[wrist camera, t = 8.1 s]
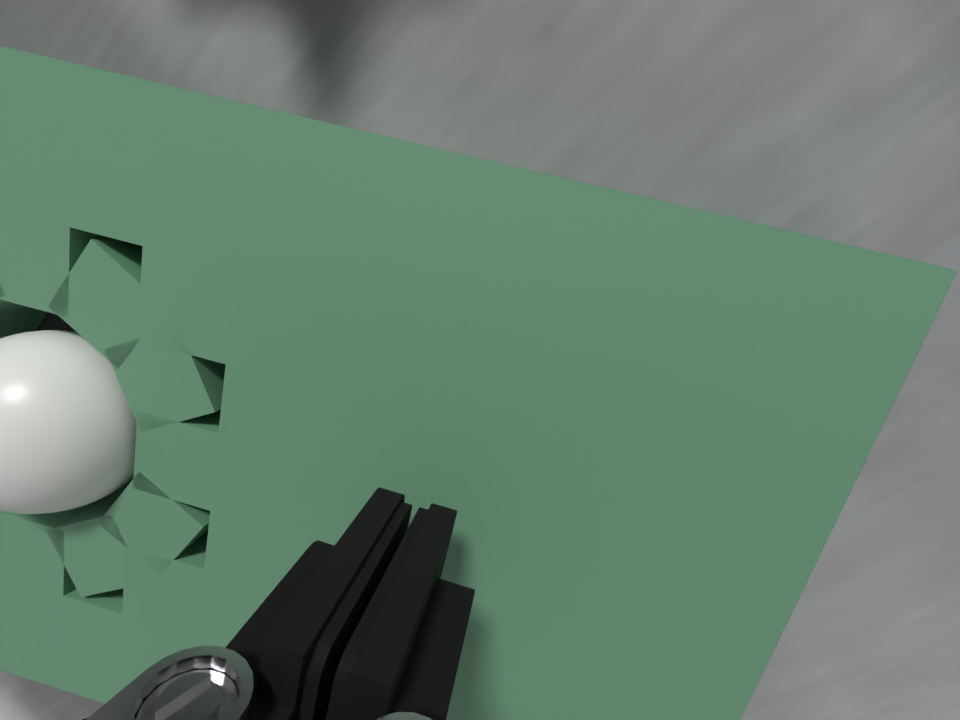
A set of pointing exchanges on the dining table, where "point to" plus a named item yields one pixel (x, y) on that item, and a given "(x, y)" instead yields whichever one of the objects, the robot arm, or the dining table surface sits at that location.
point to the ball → (60, 424)
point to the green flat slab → (432, 395)
